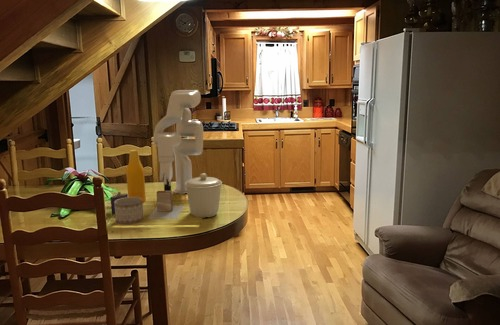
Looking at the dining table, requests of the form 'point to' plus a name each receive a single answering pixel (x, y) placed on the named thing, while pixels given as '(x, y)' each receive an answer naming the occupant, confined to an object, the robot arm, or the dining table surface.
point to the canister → (203, 195)
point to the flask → (116, 199)
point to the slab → (164, 201)
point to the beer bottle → (135, 176)
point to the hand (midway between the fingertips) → (167, 193)
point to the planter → (129, 210)
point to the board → (166, 213)
